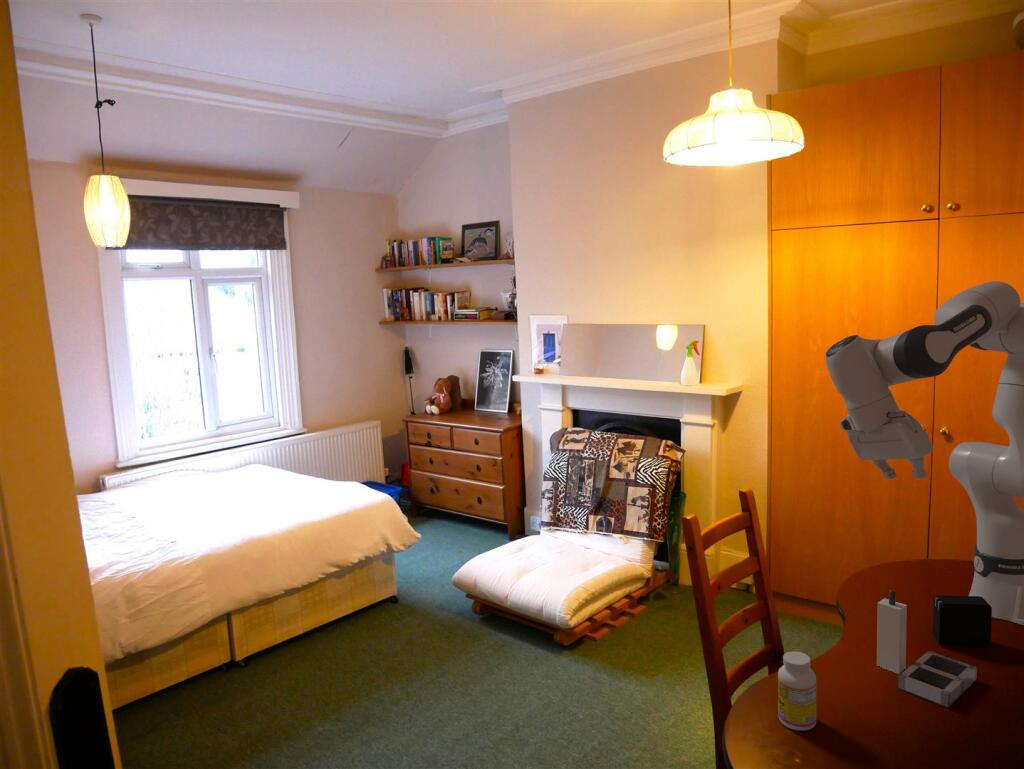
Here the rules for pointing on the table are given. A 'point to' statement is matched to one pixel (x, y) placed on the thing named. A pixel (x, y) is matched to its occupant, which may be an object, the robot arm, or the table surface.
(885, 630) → the plug
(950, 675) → the socket box
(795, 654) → the supplement bottle
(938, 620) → the electronic device
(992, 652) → the table surface
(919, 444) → the robot arm
